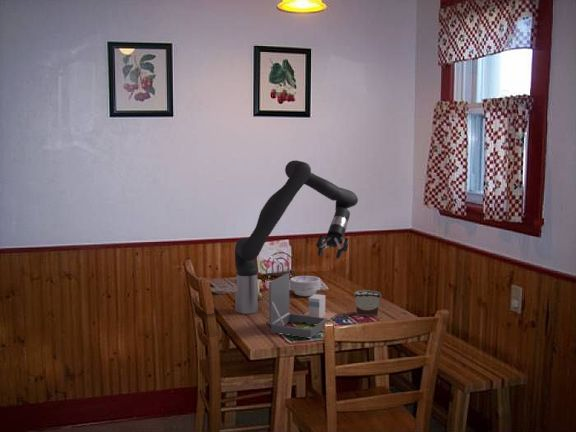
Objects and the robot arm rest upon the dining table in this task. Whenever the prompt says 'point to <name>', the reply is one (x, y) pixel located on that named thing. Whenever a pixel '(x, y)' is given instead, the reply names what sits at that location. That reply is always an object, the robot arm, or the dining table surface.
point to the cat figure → (260, 288)
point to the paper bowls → (305, 285)
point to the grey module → (317, 305)
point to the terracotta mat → (327, 315)
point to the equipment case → (281, 311)
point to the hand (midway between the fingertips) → (328, 256)
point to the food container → (367, 302)
